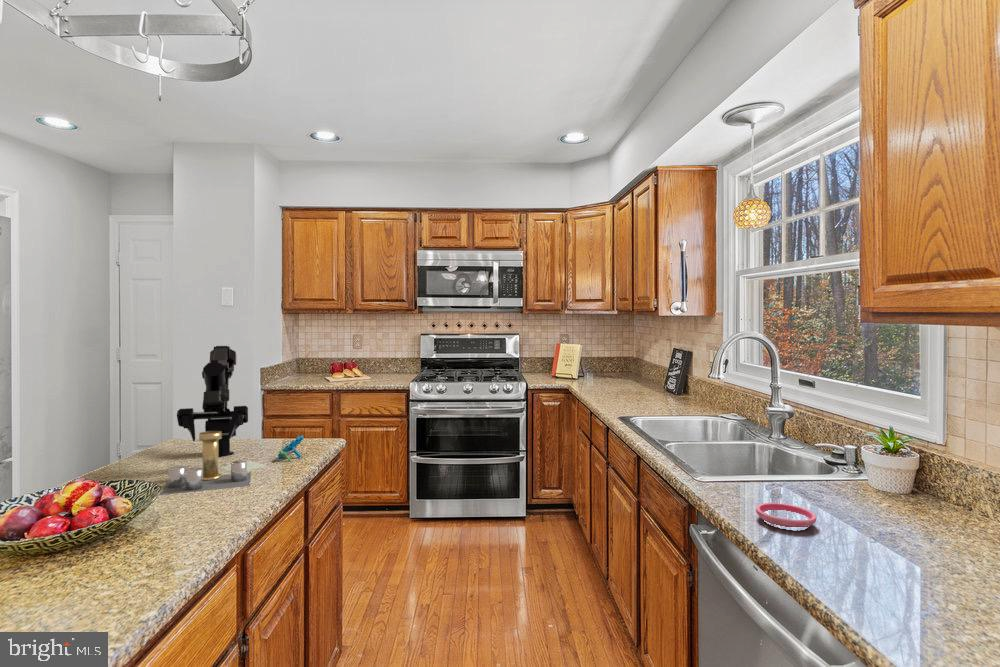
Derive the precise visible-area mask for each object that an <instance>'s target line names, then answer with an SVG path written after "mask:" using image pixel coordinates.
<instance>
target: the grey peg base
mask: <svg viewBox="0 0 1000 667" xmlns="http://www.w3.org/2000/svg"><path fill="white" fill-rule="evenodd" d="M247 461H248V460H236V461H231V463H230V465H231V471H230V474H229V473H228V474H222V477H221V478H220V479H217V480H211V481H203V467H192V468H187V466H186V465H174V466H170V467H169V468H168V481H167V482H166V484H165V485H164V487H163V488H162V490H161V492H160V494H159V496H164V495H174V494H176V495H177V494H185V493H193V492H194V493H195V492H204V491H205V492H206V491H213V490H214V491H216V490H225V489H234V488H242V487H243V488H244V487H250V486H251V477H252V472H248V470H247Z"/></svg>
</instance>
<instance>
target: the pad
mask: <svg viewBox="0 0 1000 667" xmlns="http://www.w3.org/2000/svg"><path fill="white" fill-rule="evenodd" d="M246 461H247V471H251V470H255V469H259V468H265V467H267V466H268V465H266V464H263V463H259V462H256V461H252V460H246ZM218 469H221V470H225V471H227V472H231V464H229V465H228V464H227V465H223V466H218Z"/></svg>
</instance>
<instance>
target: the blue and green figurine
mask: <svg viewBox="0 0 1000 667" xmlns="http://www.w3.org/2000/svg"><path fill="white" fill-rule="evenodd" d="M303 440H304V436H303V435H299V436H297V437H296V438H295V439H292V441H290V443H289V444H286V445H285V446H284V448H283V449H280V450H279V451H278V454H277V457H278V458H279V459H281V458H286V459H287V461H289V462H291V461H292V459H291V458H290V457H289V456H290V455H291V454H293V453H294V454H295V456H297V458H299V459H300V457H301V458H302V455H301V454H300V452H298V450H297V447H298V445H300V444H301V443H302V441H303Z"/></svg>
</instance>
